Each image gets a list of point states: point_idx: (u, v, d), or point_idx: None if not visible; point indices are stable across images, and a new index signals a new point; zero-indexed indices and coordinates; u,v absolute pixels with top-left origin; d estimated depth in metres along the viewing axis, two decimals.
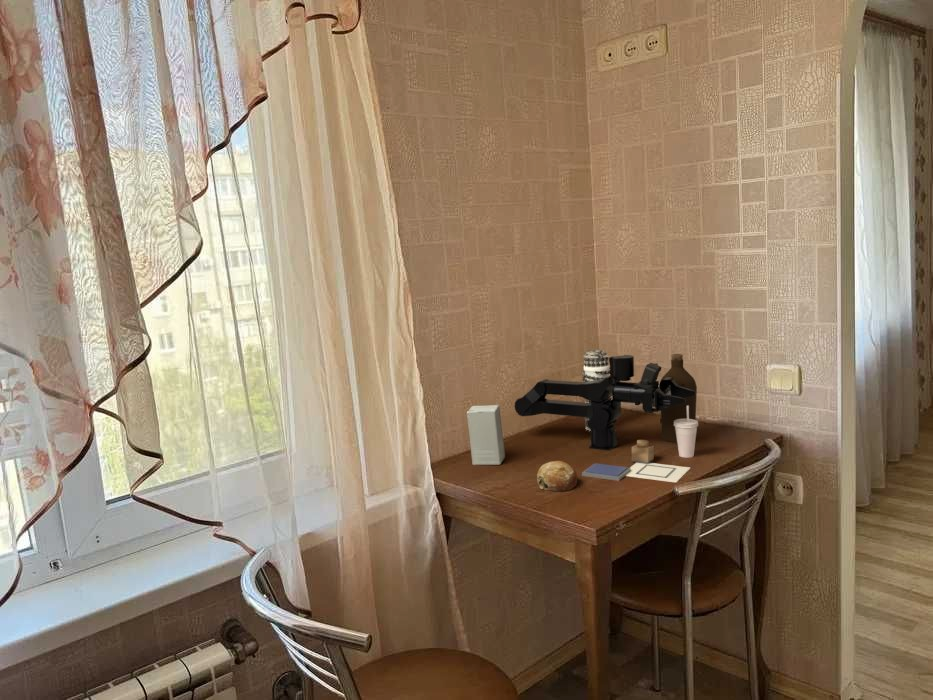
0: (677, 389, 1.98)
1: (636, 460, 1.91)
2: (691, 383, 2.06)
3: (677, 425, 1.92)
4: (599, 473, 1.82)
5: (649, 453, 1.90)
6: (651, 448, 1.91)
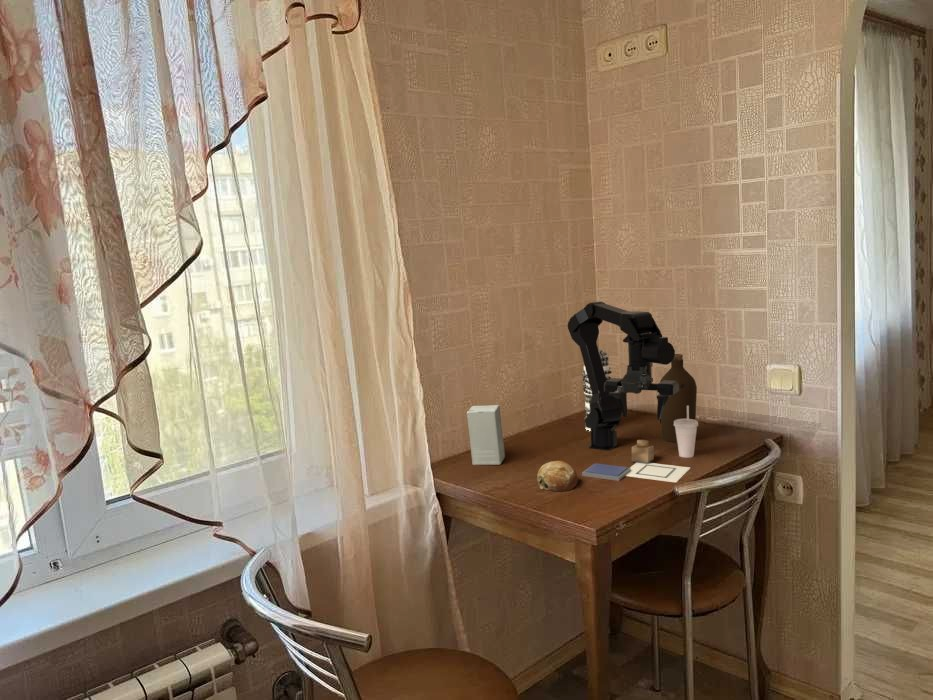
0: None
1: (636, 460, 1.91)
2: (691, 383, 2.06)
3: (677, 425, 1.92)
4: (599, 473, 1.82)
5: (649, 453, 1.90)
6: (651, 448, 1.91)
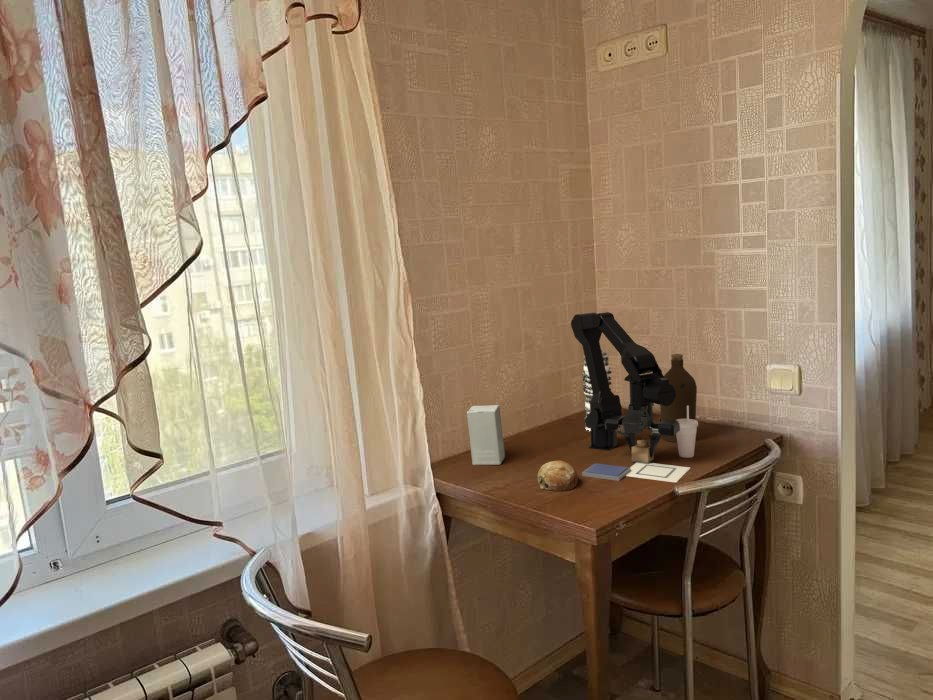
0: None
1: (636, 460, 1.91)
2: (691, 383, 2.06)
3: None
4: (599, 473, 1.82)
5: (649, 453, 1.90)
6: None
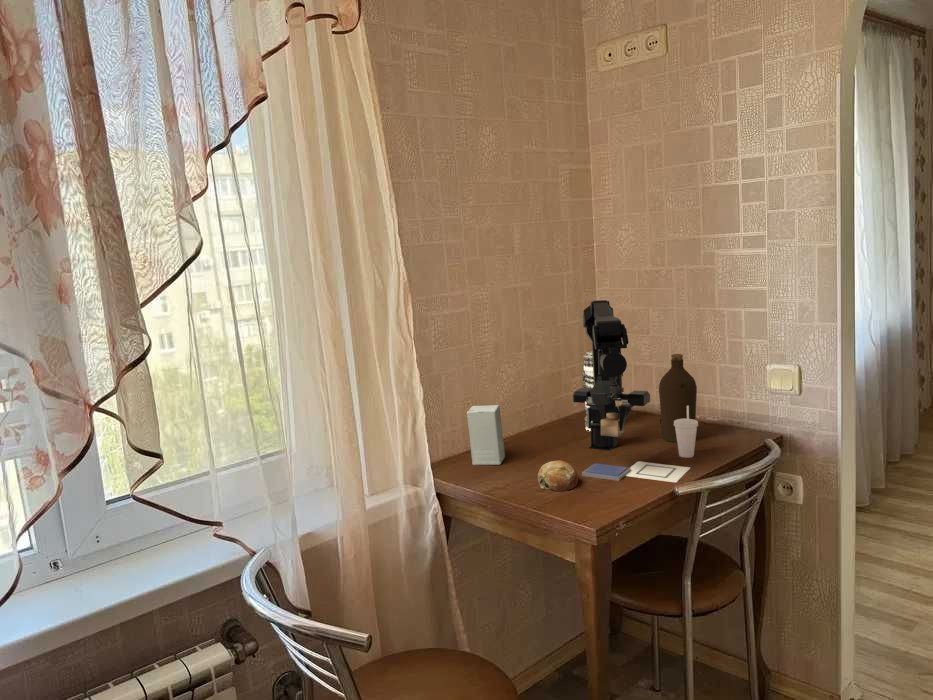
0: None
1: (605, 433, 1.82)
2: (691, 383, 2.06)
3: (677, 425, 1.92)
4: (599, 473, 1.82)
5: (619, 426, 1.82)
6: None
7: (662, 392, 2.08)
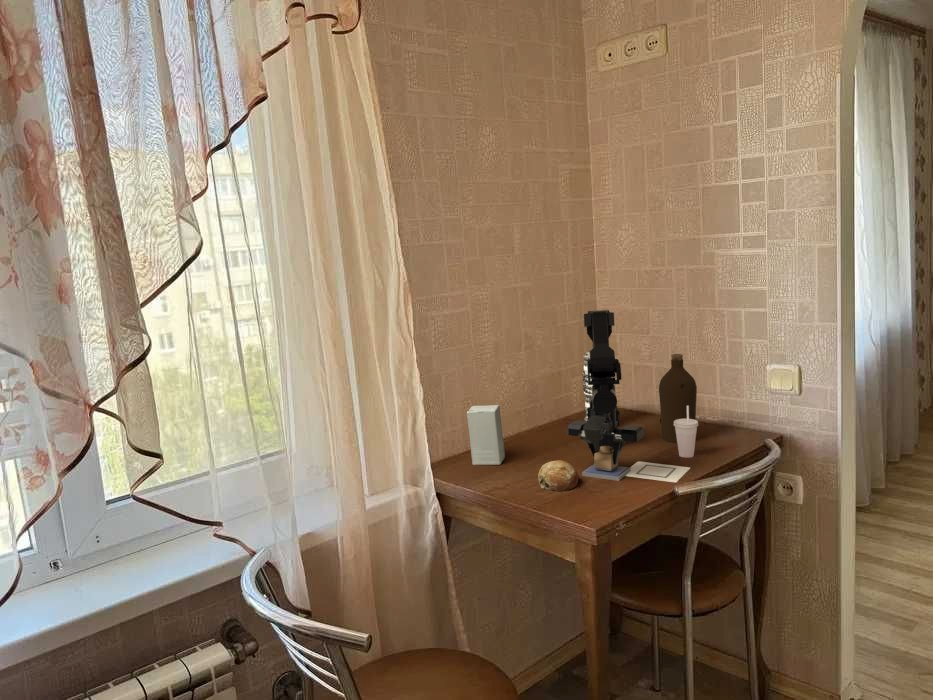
0: None
1: (599, 467, 1.83)
2: (691, 383, 2.06)
3: (677, 425, 1.92)
4: (599, 473, 1.82)
5: (612, 460, 1.82)
6: None
7: (662, 392, 2.08)
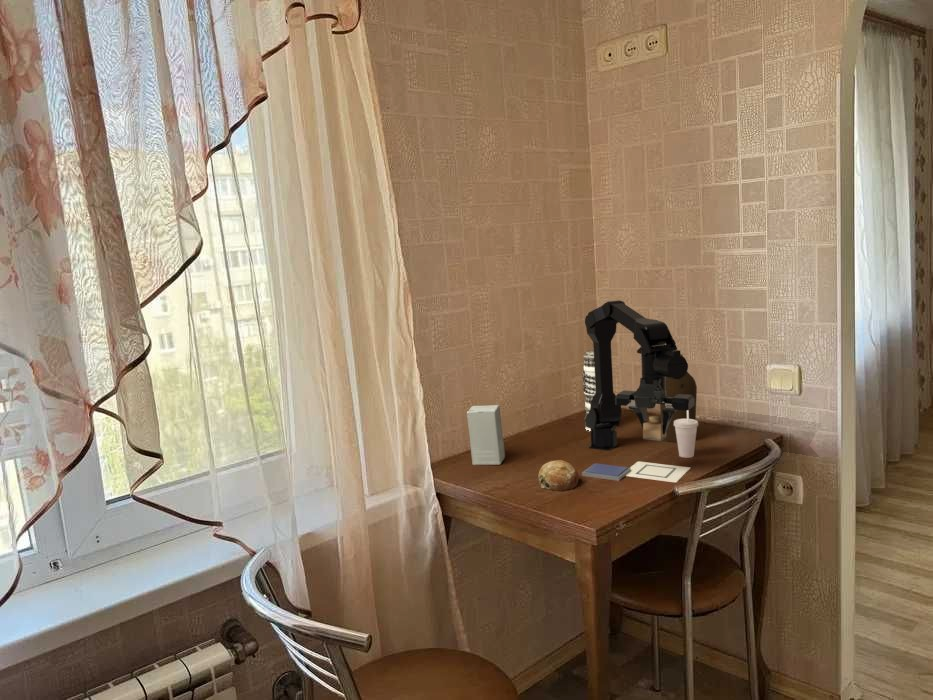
0: None
1: (648, 437, 1.81)
2: (691, 383, 2.06)
3: (677, 425, 1.92)
4: (599, 473, 1.82)
5: (662, 430, 1.80)
6: None
7: None
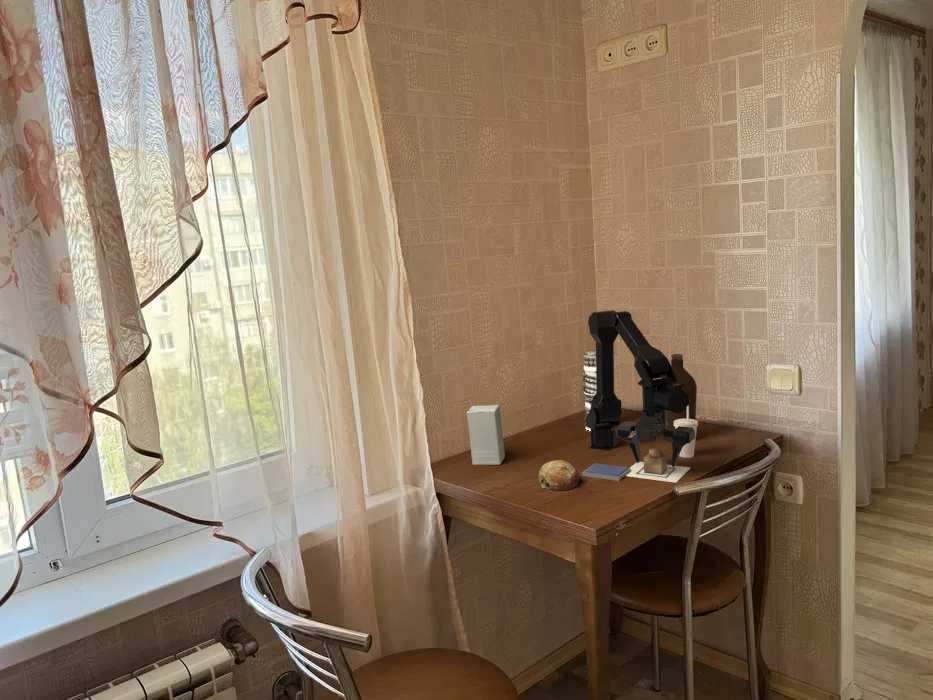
0: None
1: (649, 471, 1.82)
2: (691, 383, 2.06)
3: (677, 425, 1.92)
4: (599, 473, 1.82)
5: (662, 464, 1.81)
6: (664, 458, 1.82)
7: None
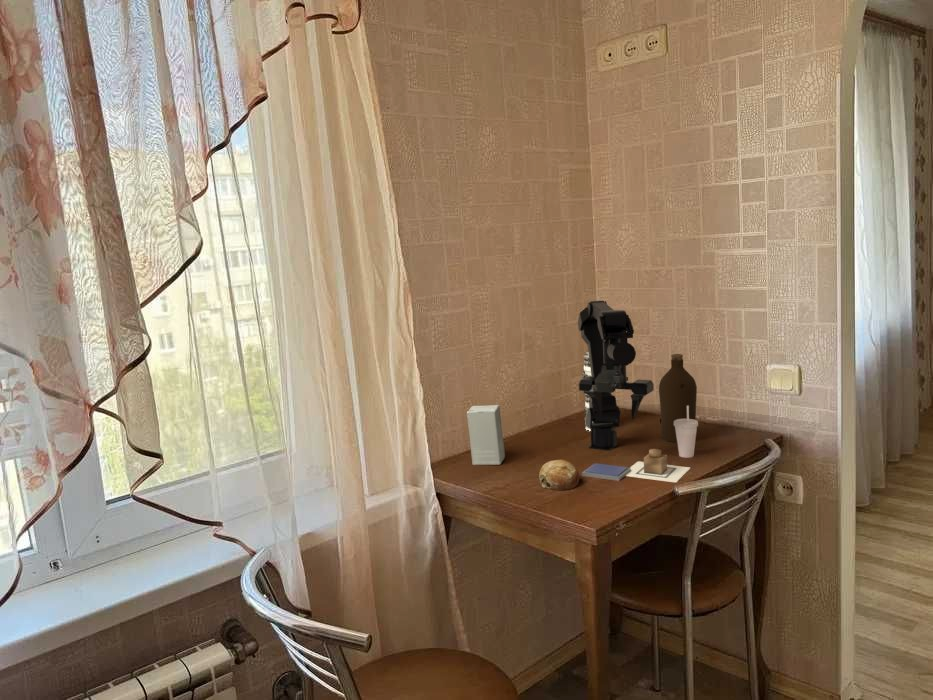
0: None
1: (649, 471, 1.82)
2: (691, 383, 2.06)
3: (677, 425, 1.92)
4: (599, 473, 1.82)
5: (662, 464, 1.81)
6: (664, 458, 1.82)
7: (662, 392, 2.08)
